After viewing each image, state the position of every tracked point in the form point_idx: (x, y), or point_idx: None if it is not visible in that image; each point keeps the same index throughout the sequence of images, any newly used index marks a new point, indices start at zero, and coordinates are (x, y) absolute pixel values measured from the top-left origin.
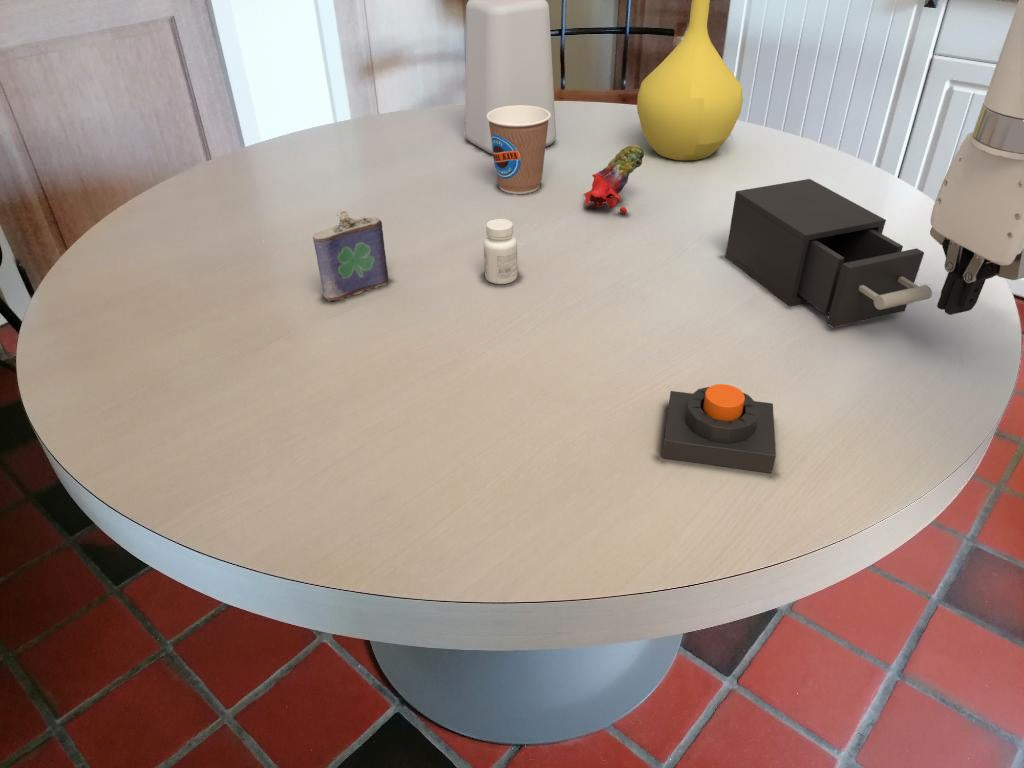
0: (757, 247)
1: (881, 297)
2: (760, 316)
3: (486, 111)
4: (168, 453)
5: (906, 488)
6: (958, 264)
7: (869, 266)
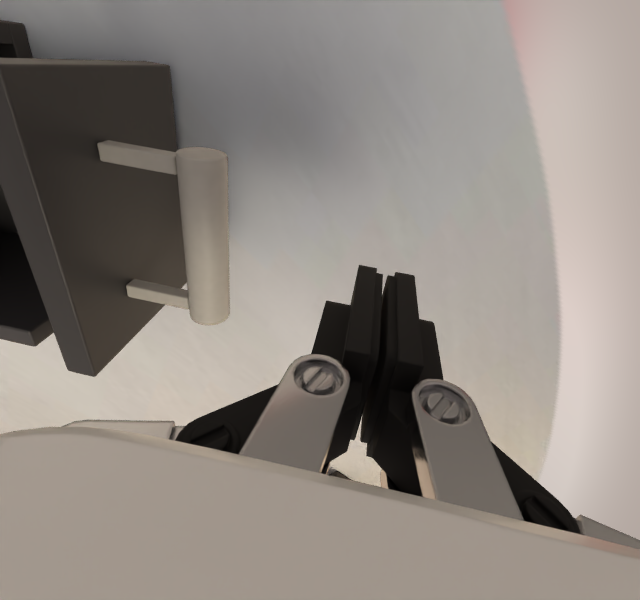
0: None
1: (205, 324)
2: None
3: None
4: None
5: (525, 466)
6: (327, 467)
7: (85, 315)
